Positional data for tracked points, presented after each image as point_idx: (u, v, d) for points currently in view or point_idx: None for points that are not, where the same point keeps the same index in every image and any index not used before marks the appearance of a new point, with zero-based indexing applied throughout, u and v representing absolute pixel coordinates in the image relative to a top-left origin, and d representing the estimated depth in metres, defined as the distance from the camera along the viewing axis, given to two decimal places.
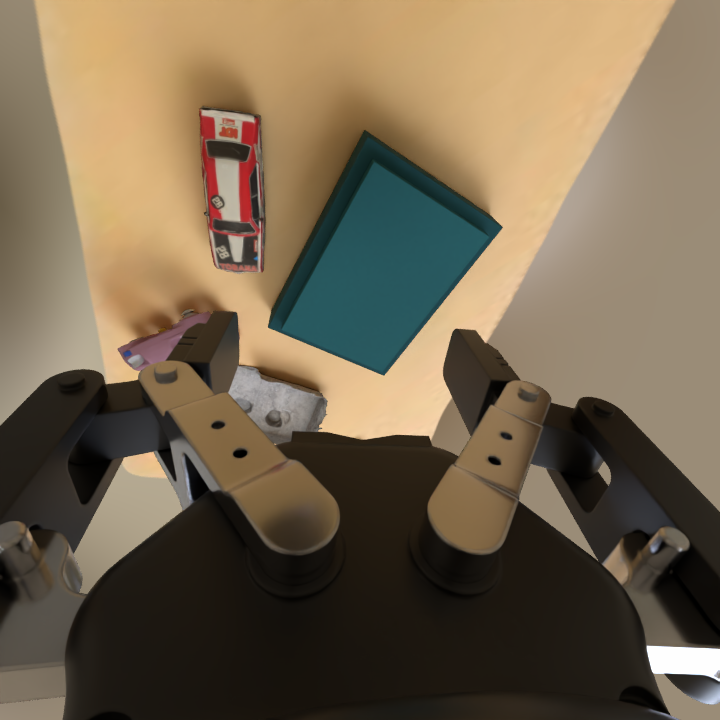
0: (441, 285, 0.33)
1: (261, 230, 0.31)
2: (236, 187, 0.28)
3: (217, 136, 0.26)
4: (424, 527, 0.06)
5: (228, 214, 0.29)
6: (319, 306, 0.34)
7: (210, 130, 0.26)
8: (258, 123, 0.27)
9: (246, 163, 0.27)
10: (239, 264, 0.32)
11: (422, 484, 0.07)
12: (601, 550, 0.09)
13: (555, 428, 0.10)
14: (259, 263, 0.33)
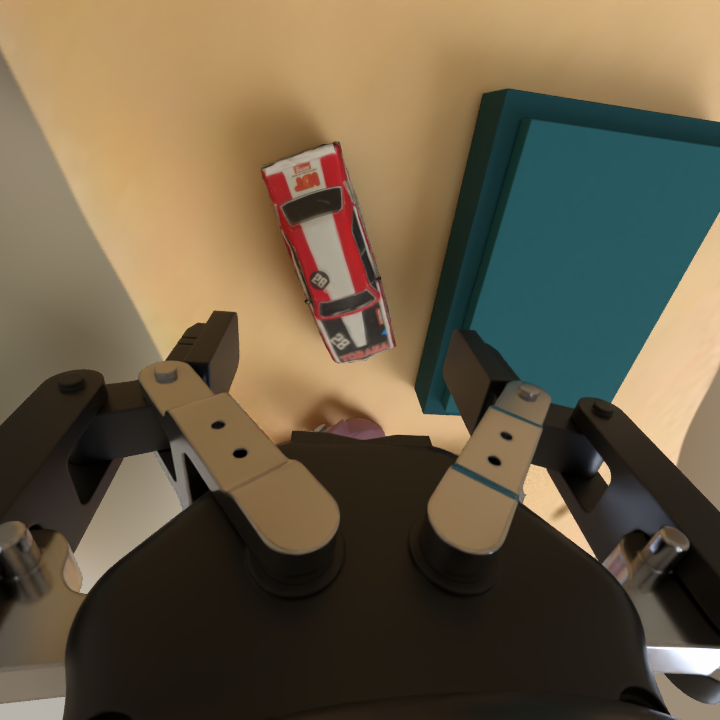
0: (677, 263, 0.20)
1: (381, 293, 0.22)
2: (338, 250, 0.19)
3: (293, 193, 0.18)
4: (424, 527, 0.06)
5: (338, 291, 0.20)
6: None
7: (283, 190, 0.18)
8: (340, 151, 0.18)
9: (341, 212, 0.18)
10: (365, 348, 0.23)
11: (422, 484, 0.07)
12: (601, 550, 0.09)
13: (555, 428, 0.10)
14: (389, 337, 0.23)
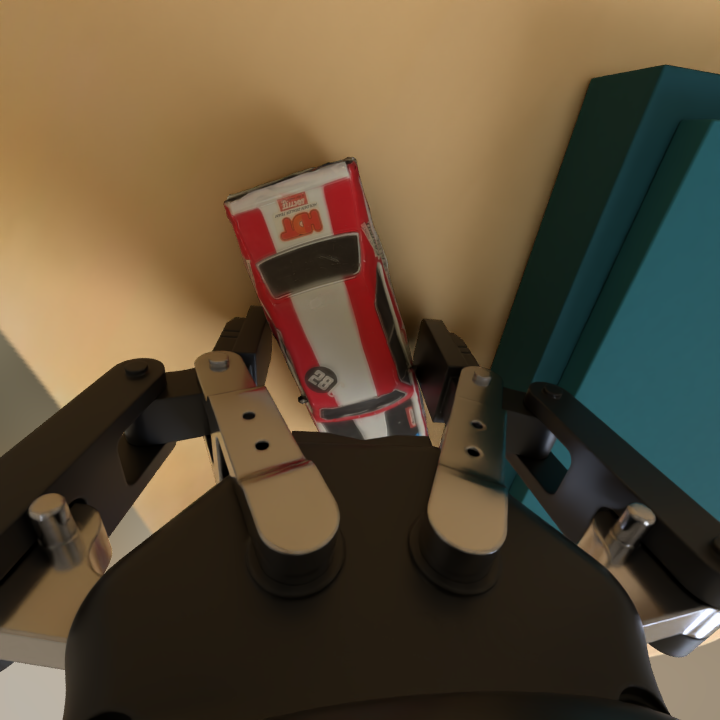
0: None
1: (415, 385, 0.14)
2: (353, 335, 0.11)
3: (278, 244, 0.11)
4: (424, 527, 0.06)
5: (351, 394, 0.12)
6: None
7: (260, 239, 0.11)
8: (358, 174, 0.11)
9: (359, 276, 0.11)
10: None
11: (422, 484, 0.07)
12: (568, 529, 0.09)
13: (506, 411, 0.11)
14: None
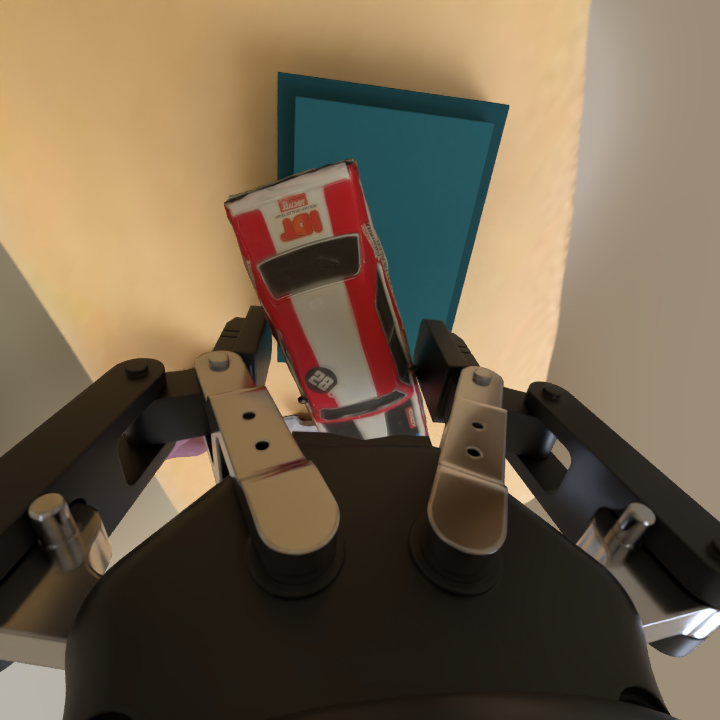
0: (458, 221, 0.24)
1: (415, 386, 0.14)
2: (353, 336, 0.11)
3: (278, 245, 0.11)
4: (424, 527, 0.06)
5: (351, 395, 0.12)
6: None
7: (260, 239, 0.11)
8: (358, 175, 0.11)
9: (359, 276, 0.11)
10: None
11: (422, 484, 0.07)
12: (568, 529, 0.09)
13: (506, 411, 0.11)
14: None
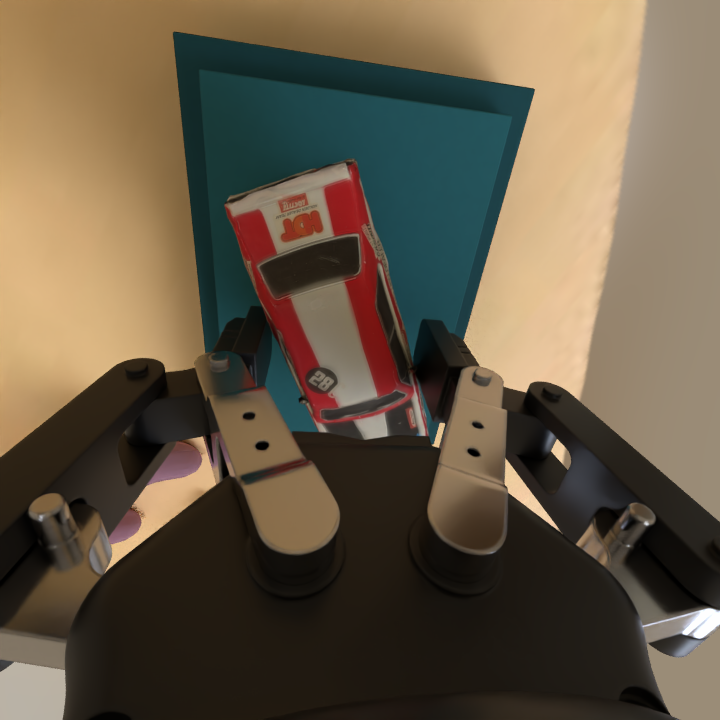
0: (457, 258, 0.17)
1: (415, 386, 0.14)
2: (353, 336, 0.11)
3: (278, 245, 0.11)
4: (424, 527, 0.06)
5: (351, 395, 0.12)
6: None
7: (261, 240, 0.11)
8: (358, 175, 0.11)
9: (360, 277, 0.11)
10: None
11: (422, 484, 0.07)
12: (568, 529, 0.09)
13: (506, 411, 0.11)
14: None
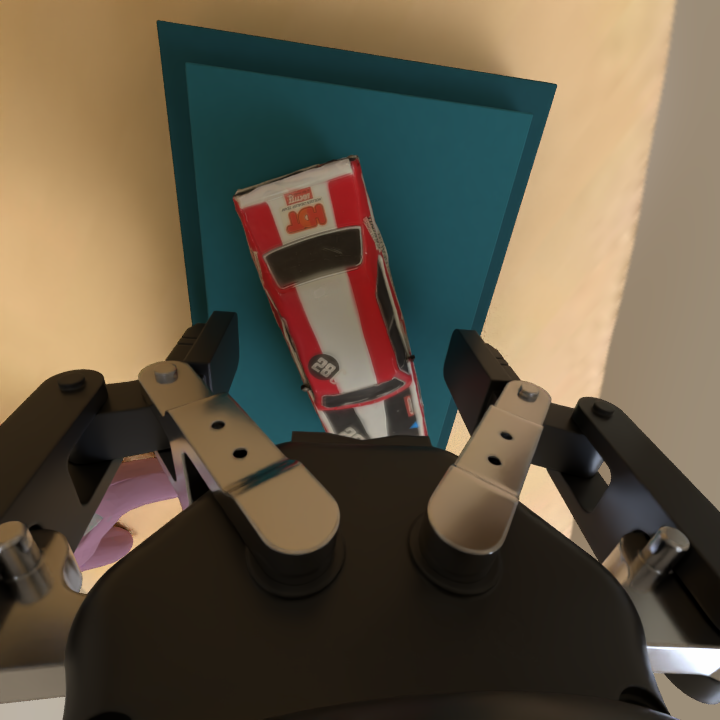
0: (470, 269, 0.15)
1: (413, 375, 0.15)
2: (354, 324, 0.12)
3: (284, 237, 0.12)
4: (424, 527, 0.06)
5: (352, 381, 0.13)
6: (259, 398, 0.18)
7: (267, 231, 0.12)
8: (361, 170, 0.11)
9: (361, 267, 0.11)
10: None
11: (422, 484, 0.07)
12: (601, 550, 0.09)
13: (555, 428, 0.10)
14: (421, 430, 0.16)
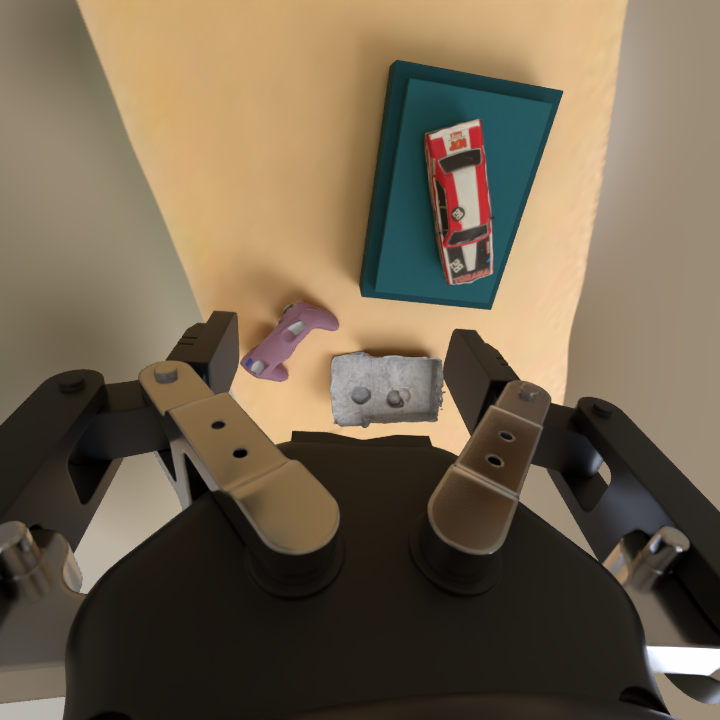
0: (519, 180, 0.31)
1: (491, 229, 0.31)
2: (475, 192, 0.28)
3: (448, 152, 0.27)
4: (424, 527, 0.06)
5: (469, 222, 0.29)
6: (403, 252, 0.33)
7: (441, 149, 0.27)
8: (481, 125, 0.27)
9: (480, 165, 0.27)
10: (472, 272, 0.32)
11: (422, 484, 0.07)
12: (601, 550, 0.09)
13: (555, 428, 0.10)
14: (491, 264, 0.32)
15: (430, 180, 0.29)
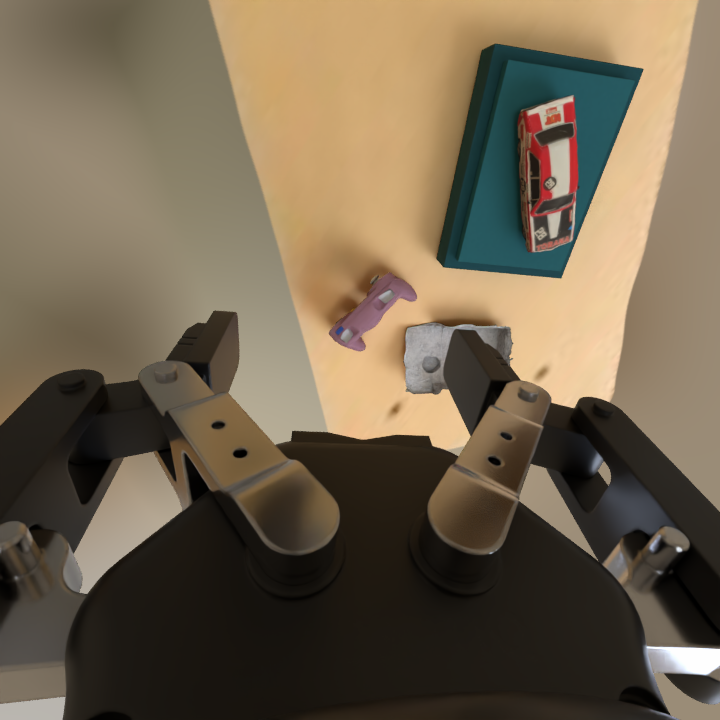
0: (599, 153, 0.34)
1: (575, 199, 0.34)
2: (567, 162, 0.31)
3: (543, 126, 0.30)
4: (424, 527, 0.06)
5: (559, 191, 0.32)
6: (487, 223, 0.36)
7: (537, 124, 0.30)
8: (574, 100, 0.30)
9: (573, 137, 0.30)
10: (554, 239, 0.35)
11: (422, 484, 0.07)
12: (601, 550, 0.09)
13: (555, 428, 0.10)
14: (572, 232, 0.35)
15: (523, 153, 0.32)
